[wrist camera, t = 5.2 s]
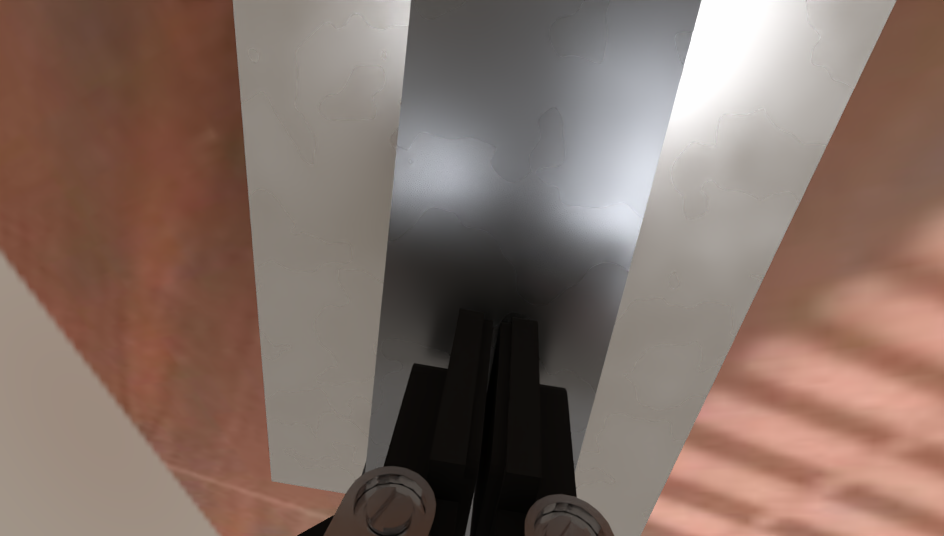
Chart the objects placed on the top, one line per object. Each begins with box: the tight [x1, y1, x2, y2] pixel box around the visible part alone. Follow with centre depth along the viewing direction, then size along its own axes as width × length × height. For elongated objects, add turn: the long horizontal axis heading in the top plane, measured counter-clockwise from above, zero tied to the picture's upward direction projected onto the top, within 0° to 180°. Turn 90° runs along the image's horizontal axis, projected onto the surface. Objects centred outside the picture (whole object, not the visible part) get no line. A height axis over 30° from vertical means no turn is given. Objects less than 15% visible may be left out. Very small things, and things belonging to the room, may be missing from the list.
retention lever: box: [365, 0, 702, 536], centre depth 11 cm, size 16×5×1 cm, turn 172°
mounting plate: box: [233, 0, 896, 536], centre depth 14 cm, size 22×14×5 cm, turn 172°
